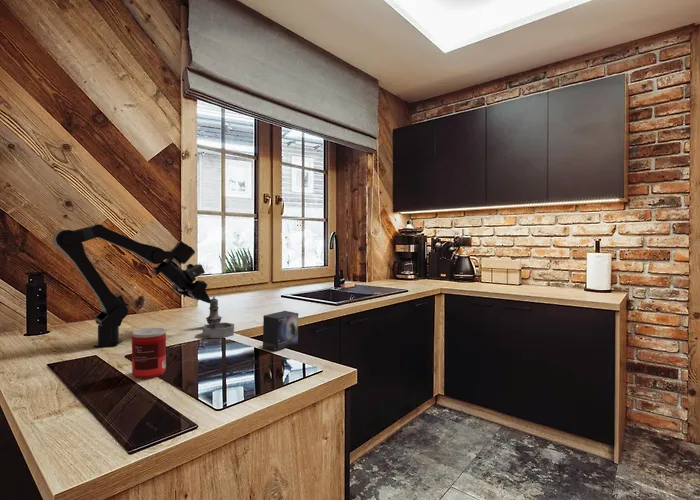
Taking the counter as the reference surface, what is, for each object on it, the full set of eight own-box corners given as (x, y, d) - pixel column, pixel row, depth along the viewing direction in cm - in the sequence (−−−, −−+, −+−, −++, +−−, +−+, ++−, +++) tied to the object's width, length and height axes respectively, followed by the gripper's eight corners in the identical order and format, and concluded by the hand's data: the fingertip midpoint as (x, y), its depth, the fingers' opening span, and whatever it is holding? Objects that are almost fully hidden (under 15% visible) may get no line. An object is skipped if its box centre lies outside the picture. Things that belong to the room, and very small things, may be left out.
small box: (277, 351, 117) (277, 317, 117) (261, 348, 121) (261, 315, 120) (299, 343, 126) (299, 312, 126) (284, 340, 130) (284, 310, 129)
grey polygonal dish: (232, 337, 133) (232, 328, 133) (201, 338, 131) (201, 330, 131) (234, 330, 143) (234, 322, 143) (205, 331, 141) (205, 323, 141)
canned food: (157, 366, 103) (157, 325, 102) (171, 373, 98) (171, 330, 97) (126, 374, 97) (126, 331, 96) (140, 382, 92) (139, 336, 91)
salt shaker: (216, 329, 145) (216, 297, 144) (202, 328, 146) (202, 296, 145) (224, 325, 150) (224, 295, 150) (211, 324, 152) (211, 294, 151)
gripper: (201, 258, 134) (230, 287, 143) (180, 256, 147) (208, 282, 156) (178, 282, 129) (210, 310, 137) (158, 278, 142) (188, 304, 150)
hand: (204, 300), depth 145 cm, fingers open, 9 cm apart
